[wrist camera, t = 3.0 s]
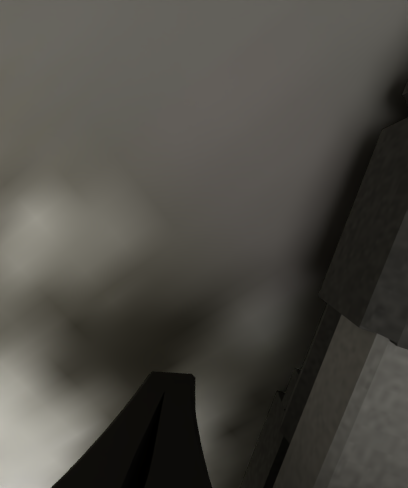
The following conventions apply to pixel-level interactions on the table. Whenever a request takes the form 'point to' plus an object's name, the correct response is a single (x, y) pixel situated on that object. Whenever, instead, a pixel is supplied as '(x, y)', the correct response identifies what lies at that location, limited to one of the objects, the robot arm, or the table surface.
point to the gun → (352, 351)
